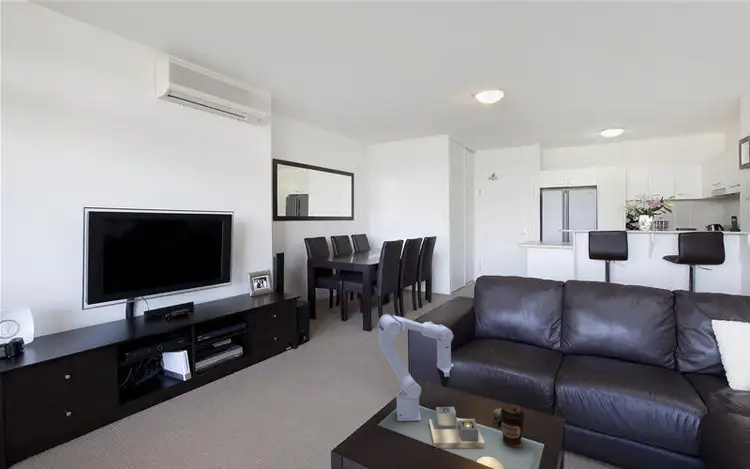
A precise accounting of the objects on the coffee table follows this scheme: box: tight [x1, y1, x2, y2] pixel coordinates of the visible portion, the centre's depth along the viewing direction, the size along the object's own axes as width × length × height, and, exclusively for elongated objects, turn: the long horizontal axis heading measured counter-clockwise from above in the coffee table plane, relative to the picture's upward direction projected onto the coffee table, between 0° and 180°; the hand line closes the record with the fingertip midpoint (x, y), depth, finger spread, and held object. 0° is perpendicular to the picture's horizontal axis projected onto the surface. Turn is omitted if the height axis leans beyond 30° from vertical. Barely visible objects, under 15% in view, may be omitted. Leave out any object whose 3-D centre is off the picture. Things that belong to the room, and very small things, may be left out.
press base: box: [428, 418, 486, 449], centre depth 139 cm, size 18×15×6 cm
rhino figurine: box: [492, 407, 503, 427], centre depth 147 cm, size 4×14×6 cm, turn 116°
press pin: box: [464, 422, 472, 428], centre depth 135 cm, size 3×3×4 cm
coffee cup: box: [500, 403, 526, 448], centre depth 133 cm, size 9×8×13 cm
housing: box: [435, 406, 457, 427], centre depth 143 cm, size 7×4×6 cm, turn 88°
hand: (444, 385), depth 157 cm, fingers closed
